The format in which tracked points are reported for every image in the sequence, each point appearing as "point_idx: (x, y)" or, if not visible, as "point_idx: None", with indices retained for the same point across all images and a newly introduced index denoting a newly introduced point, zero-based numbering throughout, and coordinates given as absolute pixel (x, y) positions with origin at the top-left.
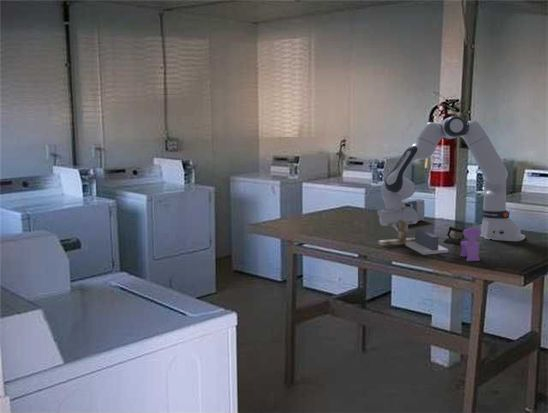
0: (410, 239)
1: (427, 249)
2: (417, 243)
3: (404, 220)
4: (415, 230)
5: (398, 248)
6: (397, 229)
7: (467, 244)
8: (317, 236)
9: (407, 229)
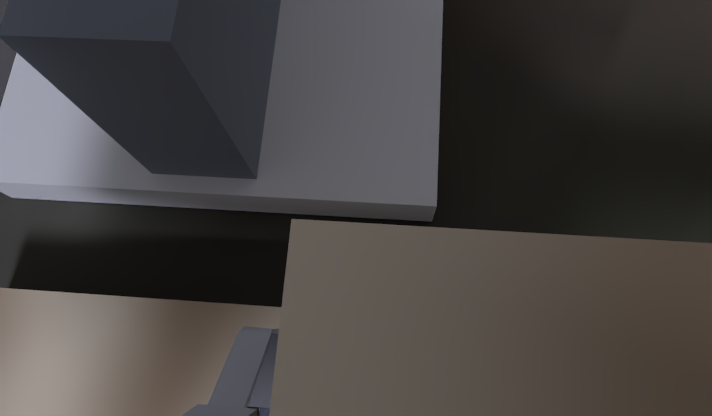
0: None
1: None
2: (282, 68)
3: (357, 348)
4: (183, 47)
5: (622, 83)
6: None
7: None
8: None
9: (275, 331)
